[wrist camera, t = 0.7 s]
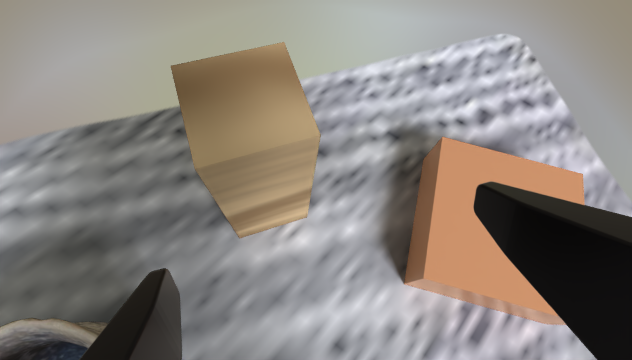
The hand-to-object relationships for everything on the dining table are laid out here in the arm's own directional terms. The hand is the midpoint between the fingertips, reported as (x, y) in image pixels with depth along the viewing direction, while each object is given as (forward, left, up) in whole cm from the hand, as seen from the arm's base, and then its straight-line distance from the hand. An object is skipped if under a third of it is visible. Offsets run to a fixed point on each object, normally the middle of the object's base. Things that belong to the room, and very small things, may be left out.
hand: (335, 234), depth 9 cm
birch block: (+6, +3, -15) cm, 16 cm away
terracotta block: (+3, -13, -15) cm, 20 cm away
